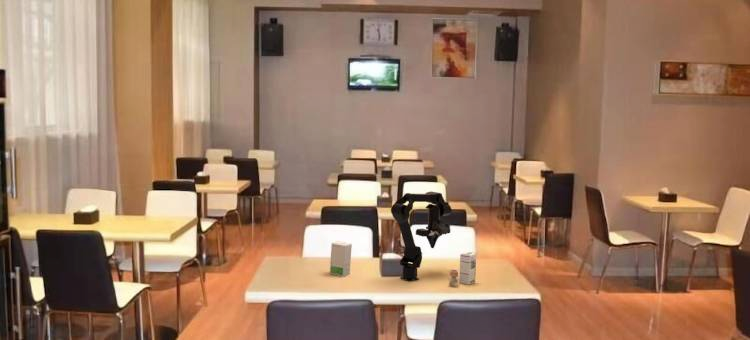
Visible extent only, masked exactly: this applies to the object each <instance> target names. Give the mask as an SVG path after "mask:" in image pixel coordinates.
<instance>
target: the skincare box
mask: <svg viewBox="0 0 750 340" xmlns="http://www.w3.org/2000/svg"><path fill="white" fill-rule="evenodd" d="M330 245H331V246H330V263H329V275H332V276H333V275H334V276H339V277H343V278H344V277H347V276H349V275H350V274H351V263H352V261H351V259H352V249H353V248H352V247H353V246H352V245H353V244H352V243H351V242H350V243H349V242H345V241H341V240H337V241H334V242H332V243H331V244H330Z"/></svg>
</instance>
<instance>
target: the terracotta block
mask: <svg viewBox="0 0 750 340" xmlns="http://www.w3.org/2000/svg"><path fill="white" fill-rule="evenodd" d="M450 276H452V277H458V278H459V269H449V277H450Z"/></svg>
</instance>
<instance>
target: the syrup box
mask: <svg viewBox="0 0 750 340" xmlns="http://www.w3.org/2000/svg"><path fill="white" fill-rule="evenodd" d="M459 254H460V255H459V258H460V259H459V274H458V284H459V283H460V284H462V283H463V285H469V286H470V285H472V284H474V283H476V268H477V267H476V264H477V253H476V252H471V251H465V252H462V253H459Z"/></svg>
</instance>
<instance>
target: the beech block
mask: <svg viewBox="0 0 750 340" xmlns="http://www.w3.org/2000/svg"><path fill="white" fill-rule="evenodd" d="M448 281H449V282H448V283H449V284H448V287H449V288H458V286H459V276H458V277H452V276H450V275H449V279H448Z"/></svg>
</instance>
